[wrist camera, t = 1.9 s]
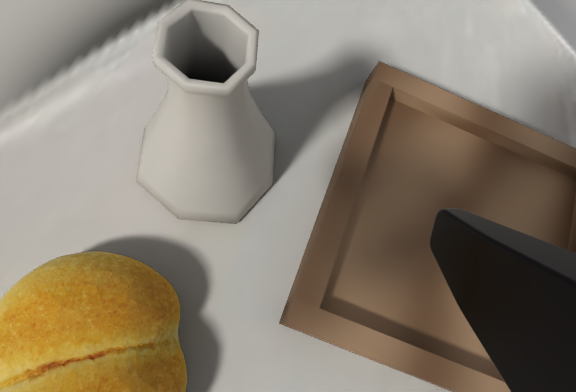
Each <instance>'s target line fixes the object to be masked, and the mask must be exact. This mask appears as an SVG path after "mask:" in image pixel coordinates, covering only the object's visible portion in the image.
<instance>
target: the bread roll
mask: <svg viewBox="0 0 576 392" xmlns="http://www.w3.org/2000/svg"><path fill="white" fill-rule="evenodd" d="M180 310H181V309H180V303H179V299H178V296H177V294H176V292H175V290H174V289H173V287H172V285H171V284H170V283H169V282H168V281H167V280H166V279H165V278H164V277H163V276H161V275H160V274H159V273H157V272H156V271H155V270H153V269H152V268H150V267H149V266H147V265H146V264H144V263H142V262H140V261H138V260H135V259H133V258H129V257H126V256H122V255H119V254H114V253H109V252H101V251H92V252H82V253H76V254H70V255H65V256H61V257H58V258H55V259H53V260H51V261H49V262H47V263H45V264H43V265H41V266H39V267H38V268H36V269H34V270H33V271H32V272H30V273H29V274H27V275H26V276H24V277H23V278H22V279H21V280H19V281H18V282H17V283H16V284H15V285H14V286H13V287H12V288H11V289H10V290H9V291H8V292H7V293H6V294H5V295H4V296H3V297H2V299H1V300H0V392H186V386H187V370H186V363H185V359H184V355H183V352H182V350H181V348H180V344H179V337H178V328H179V322H180Z"/></svg>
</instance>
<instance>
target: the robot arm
mask: <svg viewBox="0 0 576 392" xmlns="http://www.w3.org/2000/svg"><path fill="white" fill-rule="evenodd" d="M430 248H431V251H432V253H433V255H434V257H435V259H436V261H437V264H438V266H439V268H440V270H441V272H442V274H443V276H444V278H445V280H446V282H447V284H448V286H449V288H450V290H451V292H452V295H453V297H454V299H455V301H456V302H457V304H458V306H459V308H460V310H461V312H462V313H463V315H464V317H465V318H466V320H467V322H468V323H469V325H470V326H471V328H472V330H473V331H474V333H475V335H476V336H477V338H478V339H479V341H480V343H481V344H482V346H483V347H484V349H485V351H486V352H487V354H488V356H489V357H490V359H491V360H492V362H493V364H494V365H495V367H496V368H497V370H498V372H499V373H500V375H501V377H502V378H503V380H504V381H505V383H506V385H507V386H508V388H509V390H510V391H511V392H576V253H574V252H572V251H569V250H566V249H564V248H561V247H559V246H556V245H553V244H551V243H548V242H546V241H543V240H540V239H538V238H535V237H533V236H530V235H527V234H525V233H522V232H520V231H517V230H514V229H512V228H509V227H507V226H504V225H501V224H499V223H496V222H494V221H491V220H488V219H486V218H483V217H481V216H478V215H475V214H473V213H470V212H468V211H465V210H462V209H460V208H447V209H441V210H439V211H438V213H437V214H436V218H435V221H434V225H433V229H432V233H431V237H430Z"/></svg>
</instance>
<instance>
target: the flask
mask: <svg viewBox="0 0 576 392" xmlns="http://www.w3.org/2000/svg"><path fill="white" fill-rule="evenodd" d="M258 35H259V30H258V29H256V28H255V27H254V26H253V25H252V24H250V23H249V22H248V21H247V20H246V19H244V18H243V17H242V16H241V15H240V14H239V13H237V12H236V11H235V10H234V9H233V8H231V7H230V6H229V5H225V4H219V3H213V2H207V1H201V0H185V1H184V2H182V3H181V4H180V5H178V6H177V7H176V8H175V9H173V10H172V11H171V12H170V13H168V14H167V15H166V16H165V17H163V18H162V19H161V20H160V21H158V24H157V31H156V37H155V43H154V49H153V56H152V62H153V64H154V65H155V67H156V68H157V69H159V70H160V71H161V72H162V73H163V74H164V75H166V78H167V84H168V90H167V92H166V94H165V96H164V98H163V99H162V101H161V103H160V105H159V107H158V109H157V110H156V112H155V113H154V115H153V116H152V118H151V119H150V121H149V122H148V124H147V125H146V127H145V129H144V135H143V141H142V148H141V154H140V160H139V167H138V173H137V179H136V182H137V183H138V184H139V185H141V186H142V187H143V188H144V189H145V190H146V191H147V192H149V193H150V194H151V195H152V196H153V197H154V198H155V199H157V200H158V201H159V202H160V203H161V204H162V205H163V206H165V207H166V208H167V209H168V210H169V211H170V212H171V213H173V214H174V215H175V216H176V217H177V218H178V219H185V220H197V221H209V222H220V223H232V224H237V223H238V222H239V220H240V219H241V218H242V217H243V216H244V215H245V214H246V213H247V212H248V211H249V210H250V208H251V207H252V206H253V205H254V204H255V203H256V202H257V201H258V200H259V199H260V197H261V196H262V195H263V194H264V193H265V192H266V191H267V190H268V189H269V188H270V186H271V185H272V184H273V168H274V151H275V133H274V131H273V129H272V128H271V127H270V125H269V124H268V122H267V121H266V119H265V118H264V117H263V115H262V113H261V112H260V110H259V108H258V106H257V105H256V103H255V101H254V99H253V97H252V96H251V94H250V92H249V87H248V82H247V79H248V78H249V77H250V76H251V75H252V74H253V73H254V72H255V70H256V60H257V47H258Z"/></svg>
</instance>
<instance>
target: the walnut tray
mask: <svg viewBox="0 0 576 392" xmlns="http://www.w3.org/2000/svg"><path fill="white" fill-rule="evenodd" d="M447 208H460V209H462V210H465V211H468V212H470V213H473V214H475V215H478V216H481V217H483V218H486V219H488V220H491V221H494V222H496V223H499V224H501V225H504V226H507V227H509V228H512V229H514V230H517V231H520V232H522V233H525V234H527V235H530V236H533V237H535V238H538V239H540V240H543V241H546V242H548V243H551V244H553V245H556V246H559V247H561V248H564V249H566V250H569V251H572V252H574V253H576V149H575V148H573V147H571V146H568V145H566V144H564V143H562V142H559V141H557V140H555V139H553V138H550V137H548V136H546V135H544V134H541V133H539V132H537V131H535V130H532V129H530V128H528V127H526V126H524V125H521V124H519V123H517V122H515V121H512V120H510V119H508V118H506V117H503V116H501V115H499V114H497V113H494V112H492V111H490V110H488V109H485V108H483V107H481V106H479V105H476V104H474V103H472V102H470V101H468V100H465V99H463V98H461V97H459V96H456V95H454V94H452V93H450V92H447V91H445V90H443V89H441V88H438V87H436V86H434V85H432V84H429V83H427V82H425V81H423V80H420V79H418V78H416V77H414V76H412V75H409V74H407V73H405V72H403V71H400V70H398V69H396V68H394V67H391V66H389V65H387V64H385V63H382V62H380V61H379V62H378V64H377V65H376V67H375V68H374V70H373V71H372V73H371V74H370V76H369V77H368V79H367V80H366V83H365V85H364V88H363V91H362V94H361V97H360V99H359V102H358V105H357V108H356V110H355V113H354V116H353V119H352V122H351V124H350V127H349V130H348V133H347V136H346V138H345V141H344V144H343V147H342V149H341V152H340V155H339V158H338V161H337V163H336V166H335V169H334V172H333V175H332V177H331V180H330V183H329V186H328V188H327V191H326V194H325V197H324V200H323V202H322V205H321V208H320V211H319V214H318V216H317V219H316V222H315V225H314V227H313V230H312V233H311V236H310V239H309V241H308V244H307V247H306V250H305V252H304V255H303V258H302V261H301V264H300V266H299V269H298V272H297V275H296V278H295V280H294V283H293V286H292V289H291V291H290V294H289V297H288V300H287V303H286V305H285V308H284V311H283V314H282V317H281V319H280V322H279V324H282V325H284V326H287V327H289V328H292V329H295V330H297V331H300V332H302V333H305V334H307V335H310V336H312V337H315V338H317V339H320V340H323V341H325V342H328V343H330V344H333V345H335V346H338V347H340V348H343V349H345V350H348V351H350V352H353V353H356V354H358V355H361V356H363V357H366V358H368V359H371V360H373V361H376V362H378V363H381V364H383V365H386V366H389V367H391V368H394V369H396V370H399V371H401V372H404V373H406V374H409V375H411V376H414V377H417V378H419V379H422V380H424V381H427V382H429V383H432V384H434V385H437V386H439V387H442V388H444V389H447V390H450V391H452V392H511V391H510V390H509V388H508V386H507V385H506V383H505V381H504V380H503V378H502V377H501V375H500V373H499V372H498V370H497V368H496V367H495V365H494V364H493V362H492V360H491V359H490V357H489V356H488V354H487V352H486V351H485V349H484V347H483V346H482V344H481V343H480V341H479V339H478V338H477V336H476V335H475V333H474V331H473V330H472V328H471V326H470V325H469V323H468V322H467V320H466V318H465V317H464V315H463V313H462V312H461V310H460V308H459V306H458V304H457V302H456V301H455V299H454V297H453V295H452V292H451V290H450V288H449V286H448V284H447V282H446V280H445V278H444V276H443V274H442V272H441V270H440V268H439V266H438V264H437V261H436V259H435V257H434V255H433V253H432V251H431V248H430V237H431V233H432V229H433V225H434V221H435V218H436V214H437V213H438V211H439V210H441V209H447Z"/></svg>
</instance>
